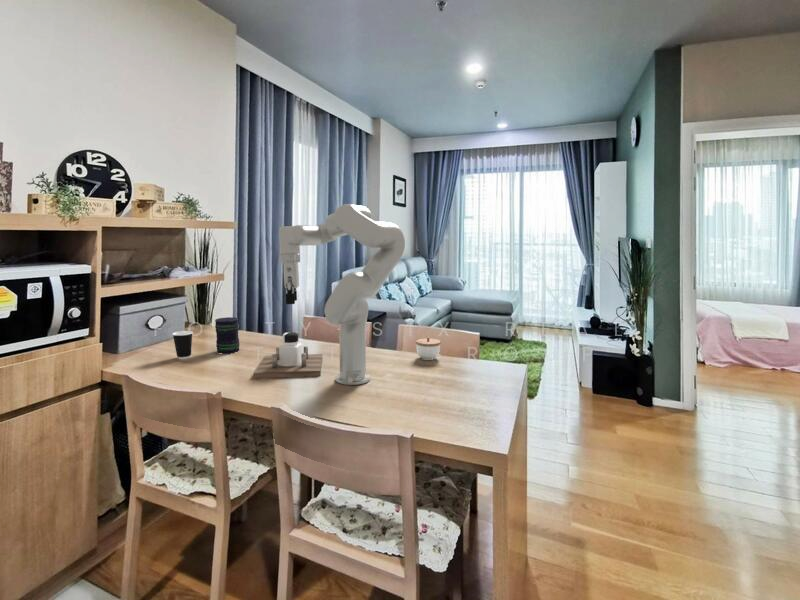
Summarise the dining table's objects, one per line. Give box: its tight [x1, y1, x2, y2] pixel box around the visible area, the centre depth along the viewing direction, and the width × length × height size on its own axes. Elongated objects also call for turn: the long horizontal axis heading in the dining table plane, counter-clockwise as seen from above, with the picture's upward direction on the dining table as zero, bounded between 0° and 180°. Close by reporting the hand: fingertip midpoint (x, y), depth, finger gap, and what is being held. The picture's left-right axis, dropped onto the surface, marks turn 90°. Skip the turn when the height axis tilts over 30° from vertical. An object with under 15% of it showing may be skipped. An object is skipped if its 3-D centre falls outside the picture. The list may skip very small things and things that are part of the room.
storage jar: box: [214, 316, 240, 355], centre depth 192 cm, size 10×10×15 cm
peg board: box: [253, 345, 323, 379], centre depth 168 cm, size 24×24×7 cm
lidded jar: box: [415, 336, 442, 361], centre depth 184 cm, size 11×11×9 cm
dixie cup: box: [172, 330, 194, 360], centre depth 181 cm, size 8×8×11 cm
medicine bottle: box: [278, 331, 303, 365], centre depth 168 cm, size 7×7×12 cm
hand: (291, 302), depth 165 cm, fingers open, 9 cm apart
